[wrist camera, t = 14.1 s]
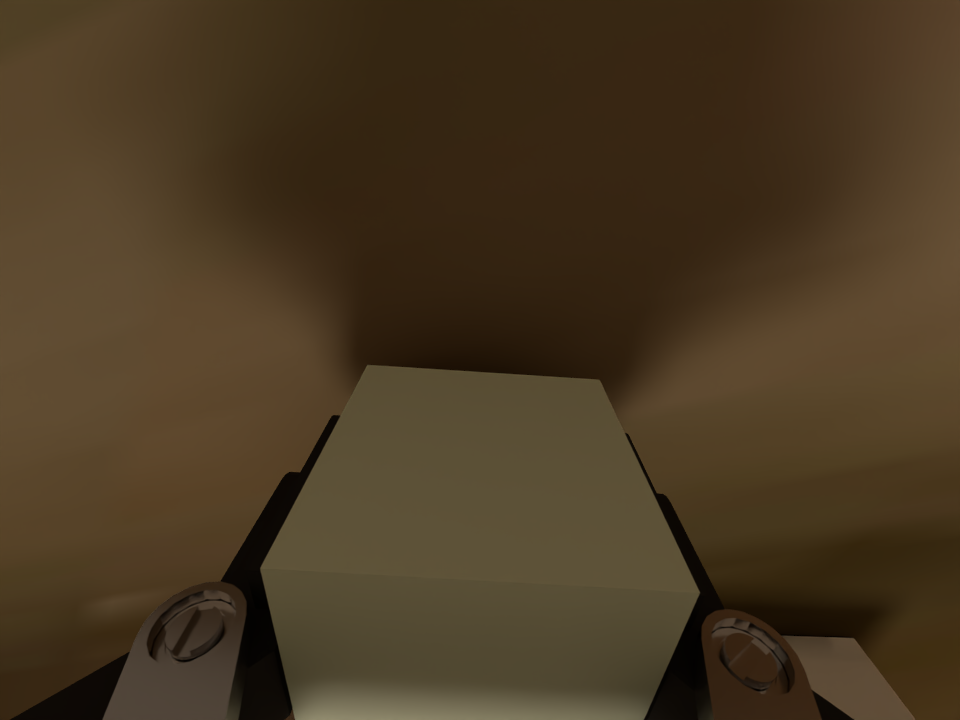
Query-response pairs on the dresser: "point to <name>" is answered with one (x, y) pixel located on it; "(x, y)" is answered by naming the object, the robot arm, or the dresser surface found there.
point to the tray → (847, 678)
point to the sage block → (476, 557)
